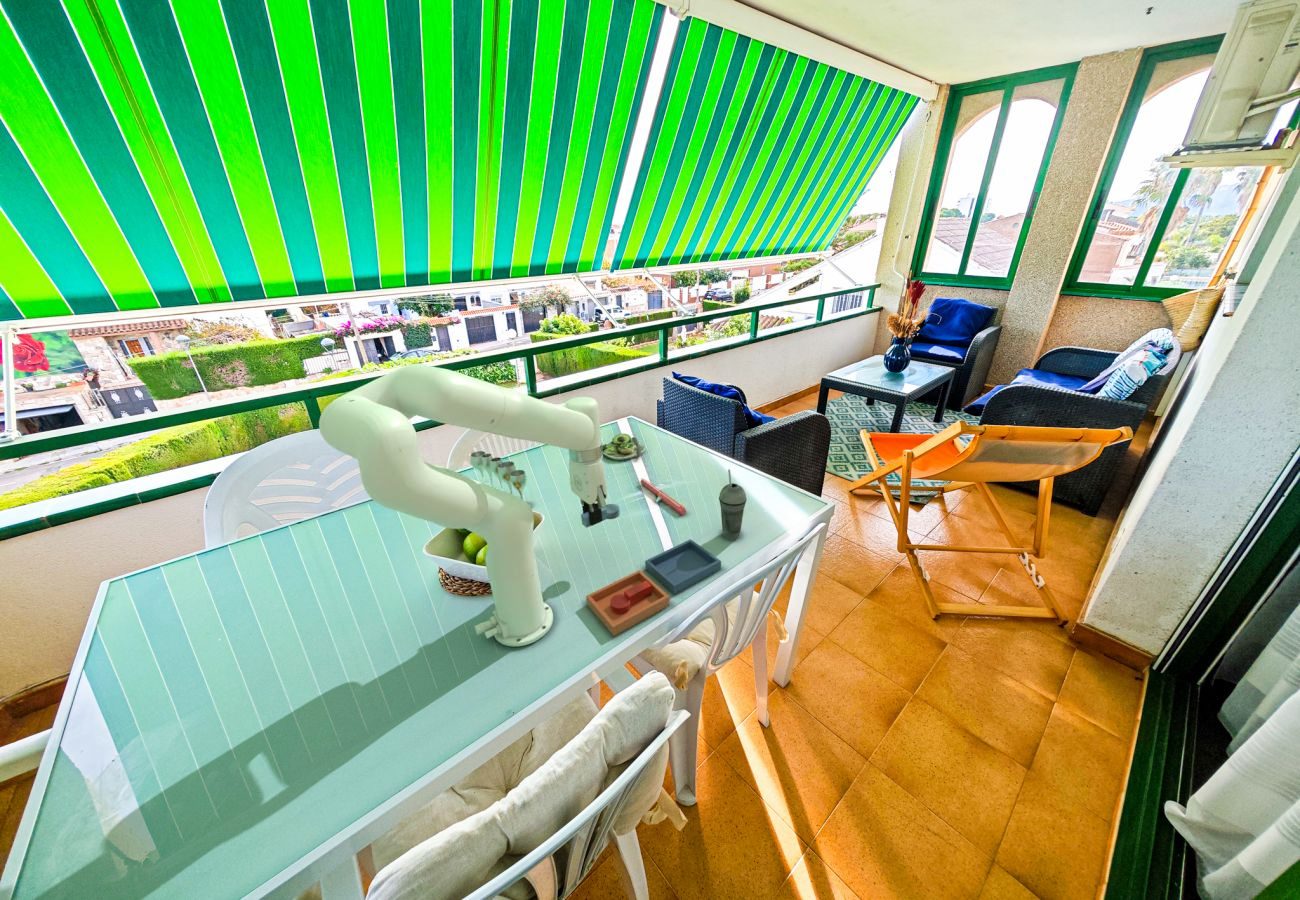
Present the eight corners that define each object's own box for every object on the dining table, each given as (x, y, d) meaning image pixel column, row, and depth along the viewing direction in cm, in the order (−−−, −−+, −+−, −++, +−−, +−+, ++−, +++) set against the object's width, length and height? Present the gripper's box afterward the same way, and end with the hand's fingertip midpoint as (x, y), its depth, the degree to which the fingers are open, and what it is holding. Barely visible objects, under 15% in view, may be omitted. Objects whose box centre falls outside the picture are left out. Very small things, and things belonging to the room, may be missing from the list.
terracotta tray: (613, 636, 95) (612, 627, 94) (587, 604, 103) (586, 595, 102) (669, 605, 102) (669, 596, 101) (640, 577, 111) (639, 569, 110)
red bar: (677, 519, 135) (689, 510, 136) (675, 514, 134) (688, 505, 135) (636, 487, 154) (647, 480, 155) (634, 482, 153) (645, 475, 154)
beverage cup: (744, 543, 122) (748, 477, 113) (716, 541, 123) (718, 475, 115) (744, 528, 128) (748, 464, 120) (718, 526, 130) (720, 462, 121)
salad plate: (658, 454, 176) (658, 443, 174) (619, 467, 166) (618, 455, 164) (630, 439, 190) (630, 428, 188) (593, 450, 181) (592, 439, 179)
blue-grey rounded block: (588, 530, 108) (587, 520, 107) (579, 522, 112) (578, 512, 110) (623, 515, 114) (622, 505, 113) (613, 507, 117) (612, 498, 116)
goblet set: (535, 505, 144) (529, 467, 138) (520, 513, 140) (512, 474, 135) (487, 480, 161) (480, 445, 156) (472, 486, 157) (464, 451, 152)
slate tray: (674, 594, 105) (674, 586, 104) (645, 568, 114) (645, 560, 113) (720, 569, 113) (721, 560, 112) (690, 546, 121) (690, 539, 120)
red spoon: (643, 587, 107) (643, 577, 106) (654, 597, 104) (654, 587, 103) (607, 605, 102) (606, 596, 101) (617, 617, 99) (616, 607, 97)
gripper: (554, 445, 107) (563, 512, 115) (589, 468, 96) (596, 541, 103) (582, 437, 111) (589, 502, 119) (619, 458, 100) (624, 529, 107)
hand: (593, 520), depth 111 cm, fingers closed on blue-grey rounded block, 2 cm apart
